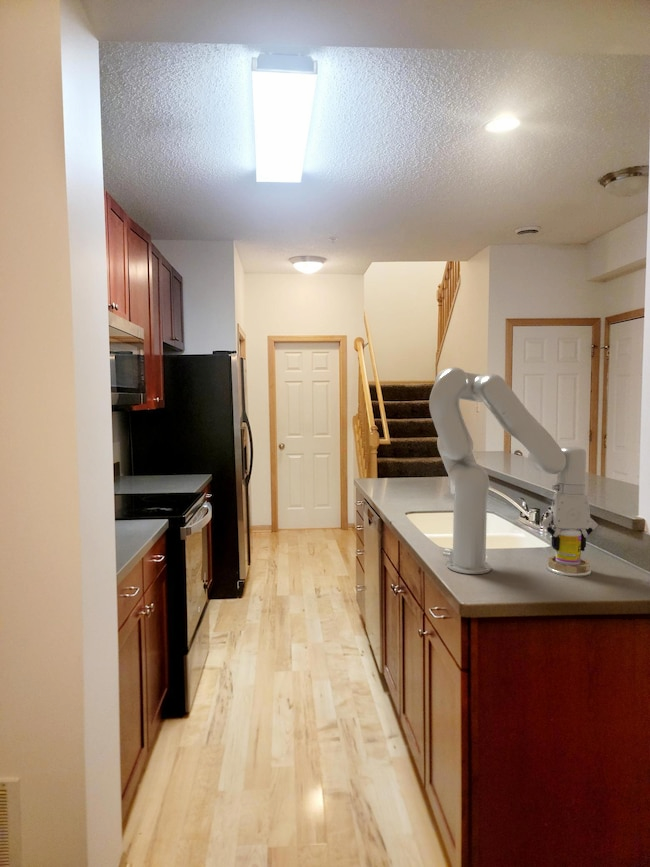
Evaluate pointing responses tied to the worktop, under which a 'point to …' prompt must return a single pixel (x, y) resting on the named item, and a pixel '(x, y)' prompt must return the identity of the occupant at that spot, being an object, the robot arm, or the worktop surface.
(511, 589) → the worktop surface
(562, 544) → the supplement bottle
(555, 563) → the flange plate
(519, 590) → the worktop surface
